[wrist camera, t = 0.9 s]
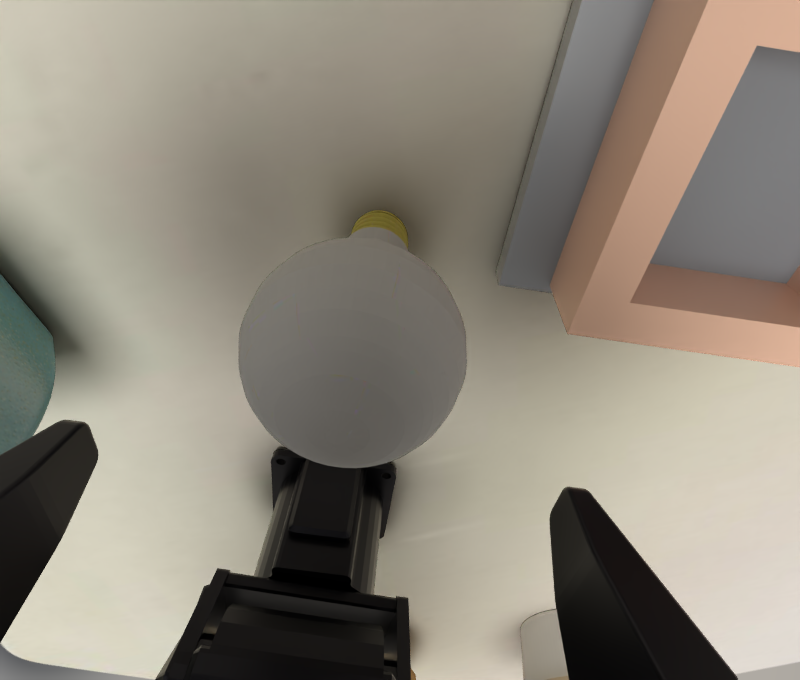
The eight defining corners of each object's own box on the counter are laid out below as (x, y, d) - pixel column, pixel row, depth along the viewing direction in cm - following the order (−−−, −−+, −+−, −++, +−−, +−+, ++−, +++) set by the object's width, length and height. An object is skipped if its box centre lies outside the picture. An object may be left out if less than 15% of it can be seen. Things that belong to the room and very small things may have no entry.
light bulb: (455, 148, 16) (475, 320, 8) (457, 291, 19) (472, 517, 11) (293, 158, 16) (156, 330, 8) (321, 296, 20) (242, 515, 12)
